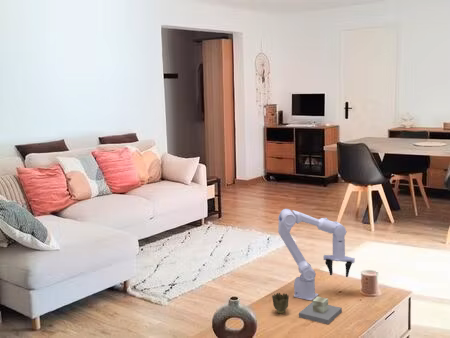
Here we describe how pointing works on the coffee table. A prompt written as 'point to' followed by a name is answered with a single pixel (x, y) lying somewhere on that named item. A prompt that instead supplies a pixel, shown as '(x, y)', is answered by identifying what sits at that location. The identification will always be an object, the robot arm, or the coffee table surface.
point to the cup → (280, 302)
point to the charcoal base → (320, 314)
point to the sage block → (320, 304)
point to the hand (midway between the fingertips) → (339, 275)
